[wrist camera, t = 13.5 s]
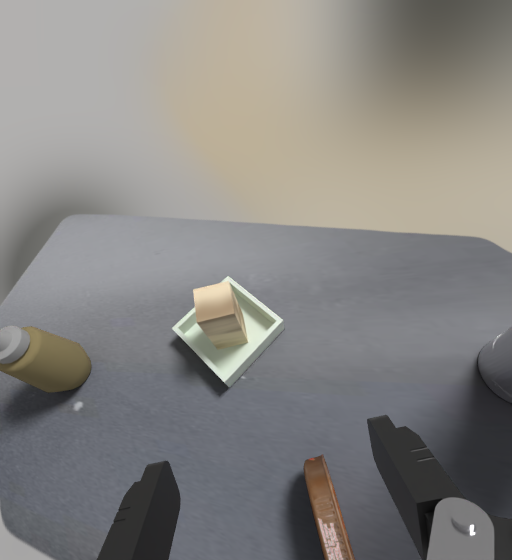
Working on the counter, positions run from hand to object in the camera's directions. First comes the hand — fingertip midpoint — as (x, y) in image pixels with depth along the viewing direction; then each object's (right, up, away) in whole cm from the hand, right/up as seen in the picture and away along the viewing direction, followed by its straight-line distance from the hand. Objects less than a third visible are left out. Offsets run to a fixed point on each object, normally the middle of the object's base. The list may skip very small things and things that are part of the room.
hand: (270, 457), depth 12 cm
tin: (+8, -23, +25) cm, 35 cm away
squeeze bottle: (-30, -8, +40) cm, 51 cm away
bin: (-5, -2, +39) cm, 39 cm away
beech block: (-5, -1, +39) cm, 39 cm away
